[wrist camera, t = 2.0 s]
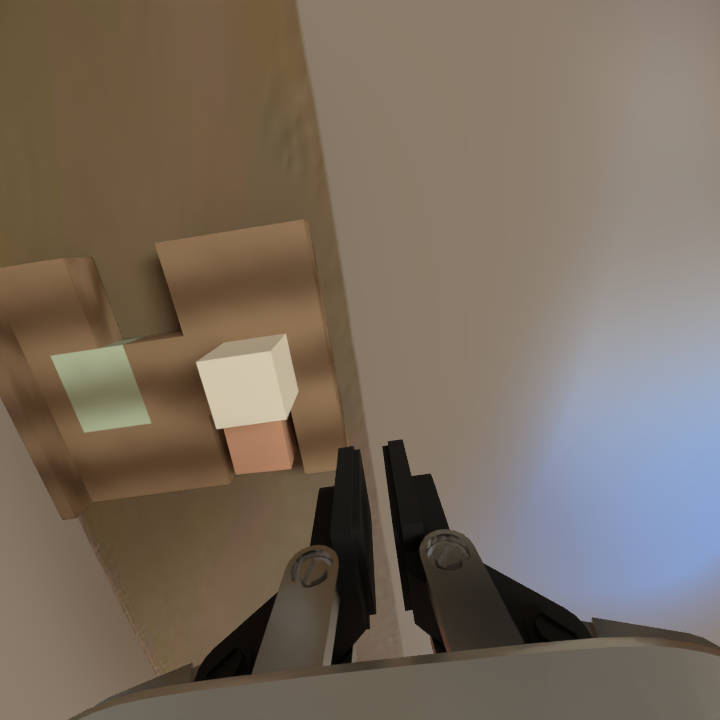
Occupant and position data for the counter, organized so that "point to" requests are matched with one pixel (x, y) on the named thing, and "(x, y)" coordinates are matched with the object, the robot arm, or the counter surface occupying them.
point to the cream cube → (249, 381)
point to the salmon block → (262, 446)
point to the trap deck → (159, 365)
